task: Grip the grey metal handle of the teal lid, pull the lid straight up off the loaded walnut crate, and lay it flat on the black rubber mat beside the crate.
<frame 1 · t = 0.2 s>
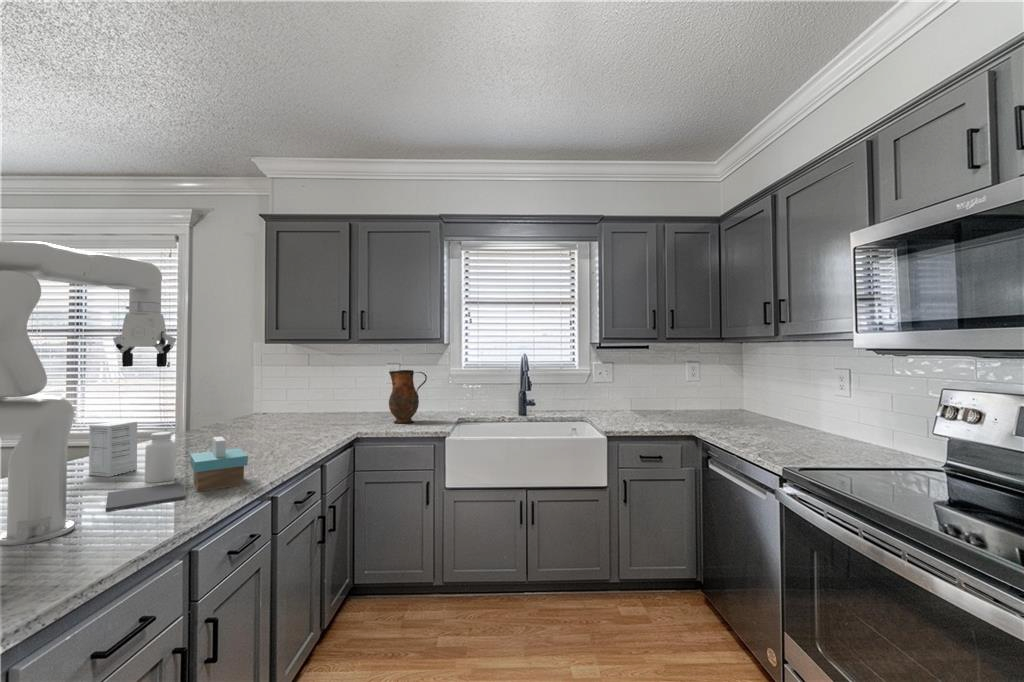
hand: (144, 366, 141), 37 cm above the worktop, tool pointing down, fingers open, 9 cm apart
supplement box: (113, 473, 160), on the worktop
mat: (146, 496, 135), on the worktop
lid: (218, 464, 149), point 6 cm above the worktop, touching crate
pill bottle: (160, 480, 152), on the worktop
pitcher: (407, 422, 271), on the worktop
crate: (218, 483, 148), on the worktop
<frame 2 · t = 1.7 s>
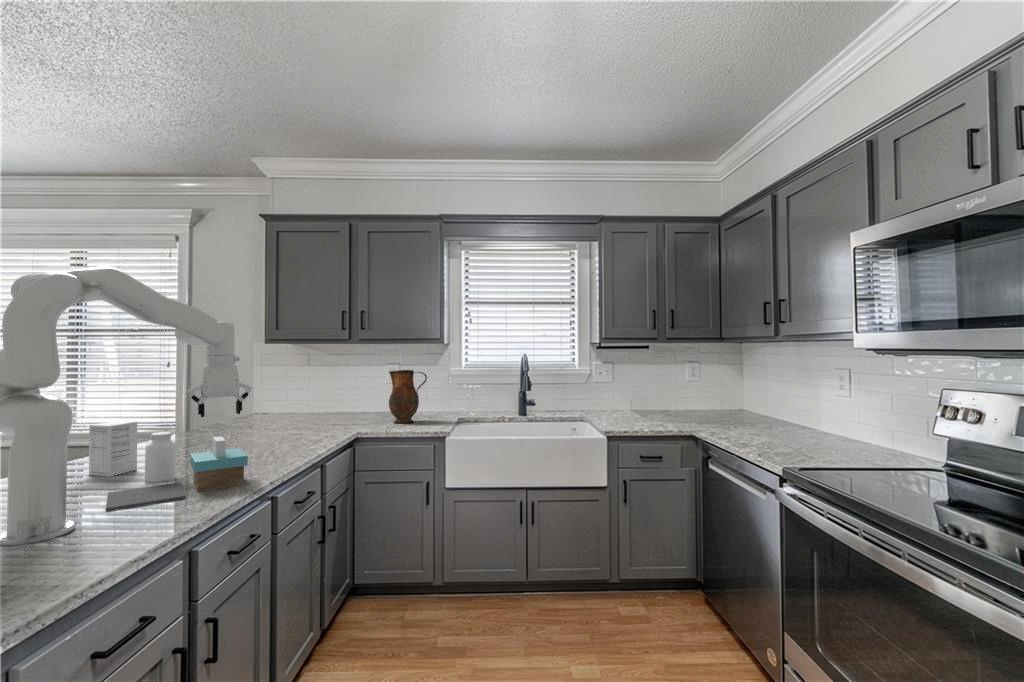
hand: (220, 415, 149), 21 cm above the worktop, tool pointing down, fingers open, 9 cm apart
nothing on the worktop moved.
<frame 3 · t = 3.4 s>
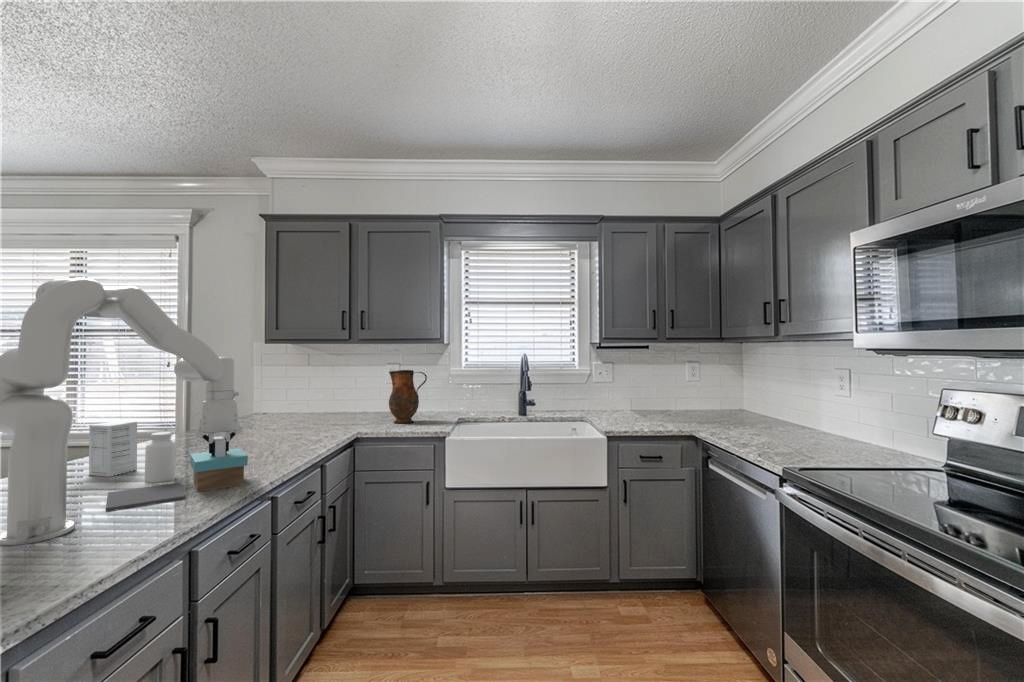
hand: (218, 454, 149), 9 cm above the worktop, tool pointing down, fingers closed on lid, 2 cm apart
lid: (218, 464, 149), point 6 cm above the worktop, touching crate, gripper
everything else where it was.
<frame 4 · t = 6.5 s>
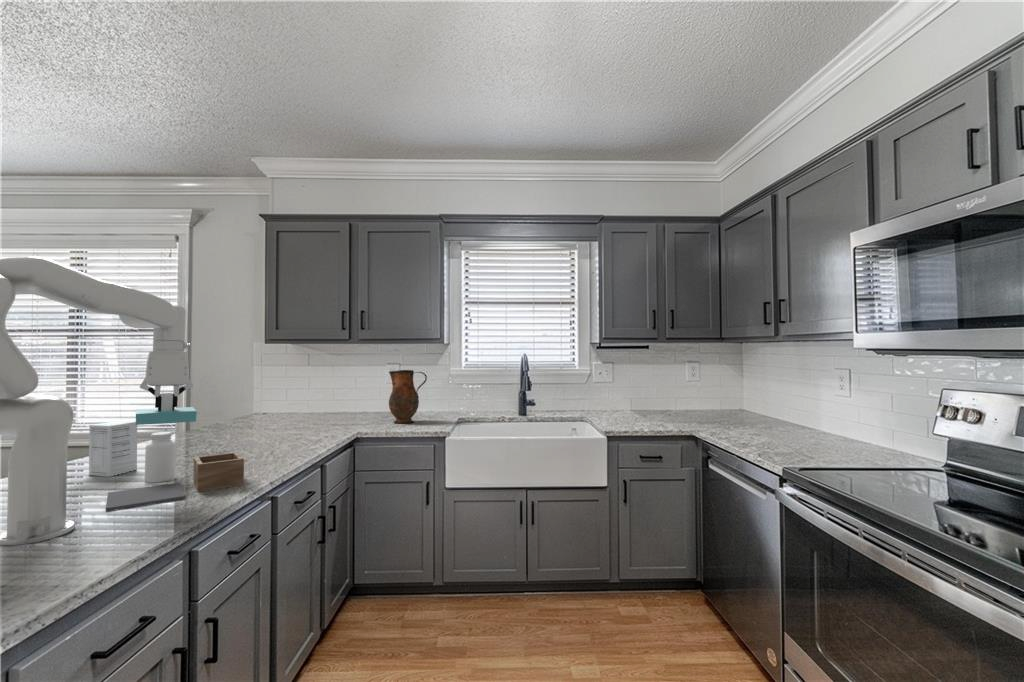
hand: (166, 409, 138), 25 cm above the worktop, tool pointing down, fingers closed on lid, 2 cm apart
lid: (165, 420, 138), point 21 cm above the worktop, touching gripper
everything else where it was.
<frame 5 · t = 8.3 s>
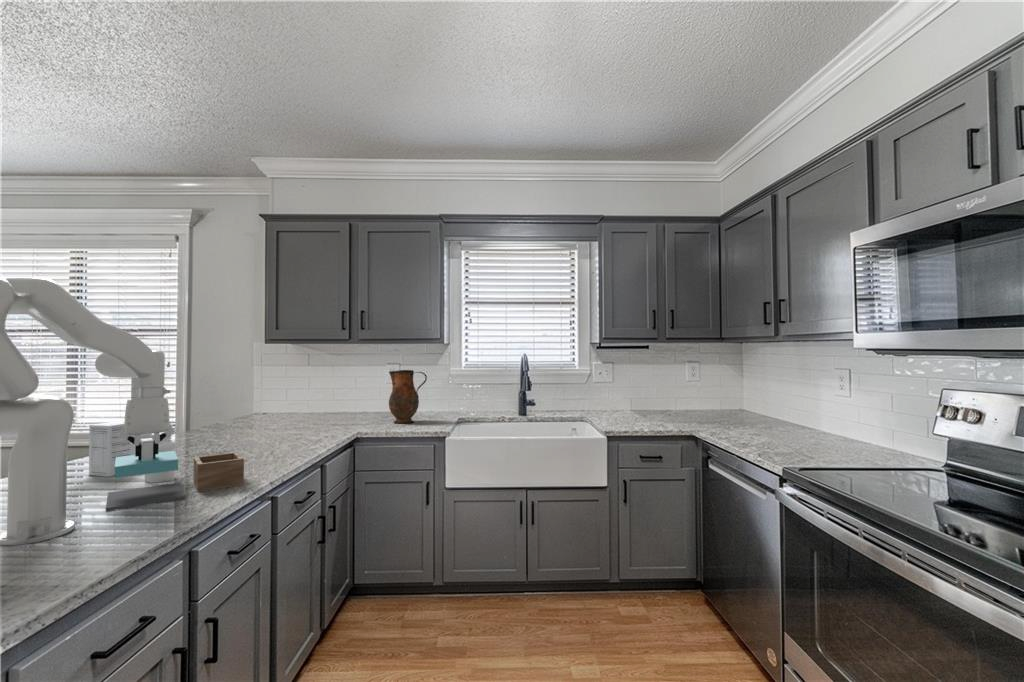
hand: (146, 457, 135), 11 cm above the worktop, tool pointing down, fingers closed on lid, 2 cm apart
lid: (146, 468, 135), point 8 cm above the worktop, touching gripper
everything else where it was.
when the fingers open (5 cm above the worktop, at t = 9.8 s): lid drops 1 cm, resting on mat.
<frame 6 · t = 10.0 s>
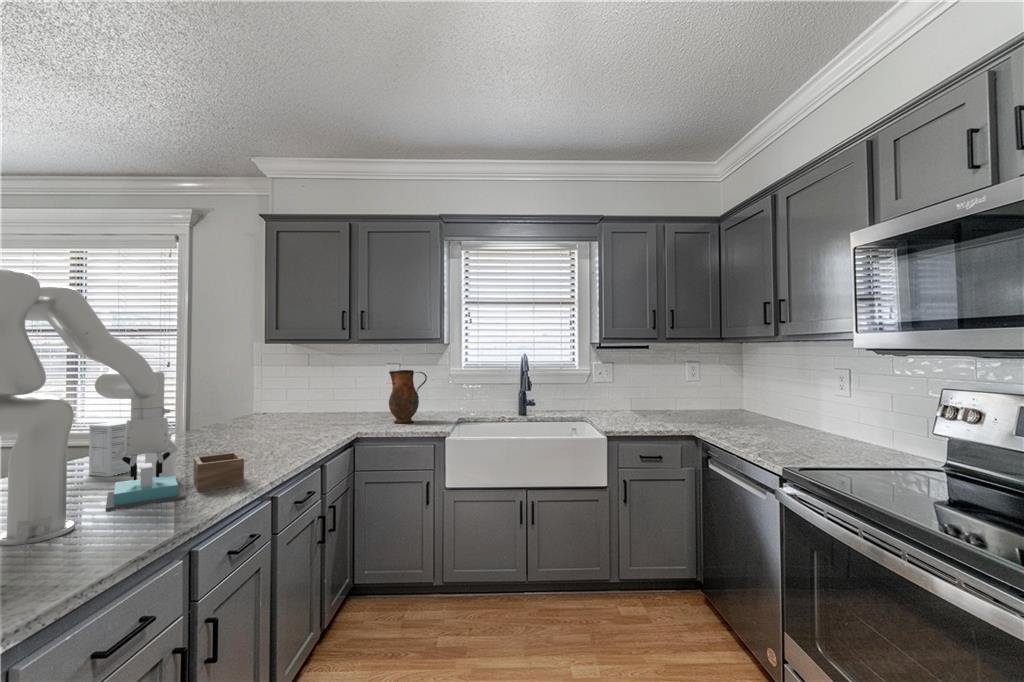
hand: (146, 477, 135), 6 cm above the worktop, tool pointing down, fingers open, 4 cm apart
lid: (146, 494, 135), point 1 cm above the worktop, touching mat
everything else where it was.
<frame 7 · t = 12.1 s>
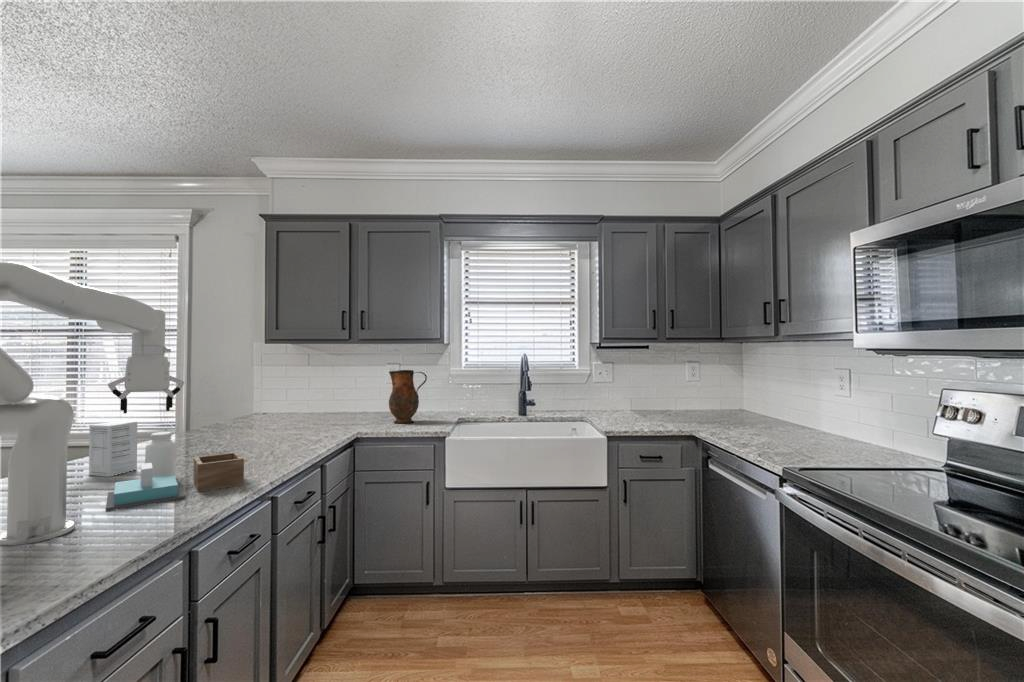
hand: (146, 411, 135), 24 cm above the worktop, tool pointing down, fingers open, 9 cm apart
nothing on the worktop moved.
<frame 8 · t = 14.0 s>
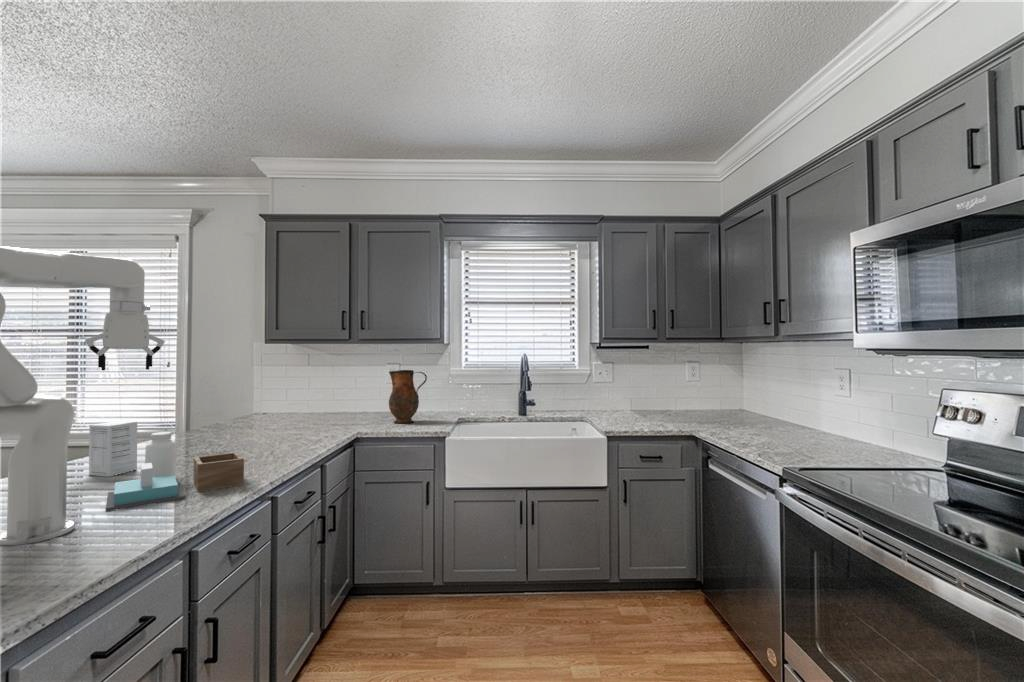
hand: (125, 369, 133), 36 cm above the worktop, tool pointing down, fingers open, 9 cm apart
nothing on the worktop moved.
at the end: lid inside the target area on the mat (0.1 cm from its centre), point 0.8 cm above the mat's base; lid tilted 0°; lid touching mat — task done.
